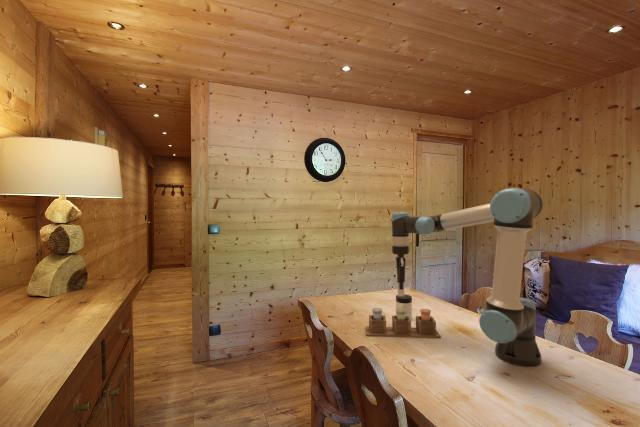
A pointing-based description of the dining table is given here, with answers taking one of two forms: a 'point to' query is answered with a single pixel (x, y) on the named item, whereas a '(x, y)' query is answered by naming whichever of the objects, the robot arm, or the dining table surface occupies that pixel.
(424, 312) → the terracotta plunger
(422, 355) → the dining table surface
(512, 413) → the dining table surface
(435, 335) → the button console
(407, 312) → the jar
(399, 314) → the sage plunger
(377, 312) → the pale grey canister
